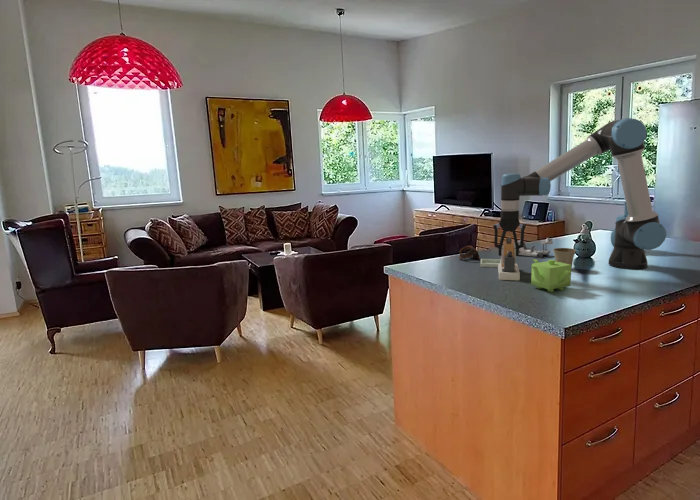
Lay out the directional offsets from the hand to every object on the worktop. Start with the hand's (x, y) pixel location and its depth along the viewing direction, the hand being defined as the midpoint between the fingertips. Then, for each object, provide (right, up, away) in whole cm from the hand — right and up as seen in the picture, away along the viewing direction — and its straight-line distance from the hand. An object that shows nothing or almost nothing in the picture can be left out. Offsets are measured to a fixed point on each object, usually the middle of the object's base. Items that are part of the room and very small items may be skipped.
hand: (508, 263), depth 208 cm
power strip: (-1, -5, -3) cm, 6 cm away
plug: (0, -3, +1) cm, 3 cm away
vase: (+74, +5, +37) cm, 83 cm away
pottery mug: (-10, 0, +28) cm, 30 cm away
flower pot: (+26, -3, +4) cm, 27 cm away
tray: (-3, -2, +15) cm, 15 cm away
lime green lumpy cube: (+7, -9, -26) cm, 28 cm away
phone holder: (+24, +2, +34) cm, 42 cm away
